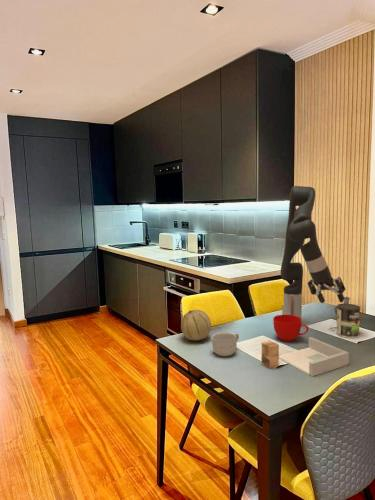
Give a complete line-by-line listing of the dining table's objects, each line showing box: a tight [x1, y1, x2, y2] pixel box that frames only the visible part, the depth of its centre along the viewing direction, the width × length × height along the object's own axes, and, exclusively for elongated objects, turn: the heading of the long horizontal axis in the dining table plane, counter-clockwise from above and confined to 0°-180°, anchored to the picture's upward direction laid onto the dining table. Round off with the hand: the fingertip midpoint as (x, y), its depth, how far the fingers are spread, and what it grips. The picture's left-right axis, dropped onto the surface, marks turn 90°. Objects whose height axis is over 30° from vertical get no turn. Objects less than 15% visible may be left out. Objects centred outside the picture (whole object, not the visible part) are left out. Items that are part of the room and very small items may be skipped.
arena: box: [279, 336, 350, 377], centre depth 148 cm, size 20×20×5 cm
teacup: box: [211, 332, 240, 357], centre depth 159 cm, size 14×11×8 cm
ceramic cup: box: [272, 314, 309, 342], centre depth 171 cm, size 13×17×10 cm
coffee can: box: [336, 303, 361, 339], centre depth 176 cm, size 10×10×14 cm
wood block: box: [261, 340, 280, 370], centre depth 145 cm, size 5×5×9 cm
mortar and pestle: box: [334, 296, 351, 316], centre depth 198 cm, size 11×9×12 cm
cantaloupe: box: [180, 309, 212, 341], centre depth 175 cm, size 15×15×15 cm
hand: (332, 301), depth 149 cm, fingers open, 8 cm apart
